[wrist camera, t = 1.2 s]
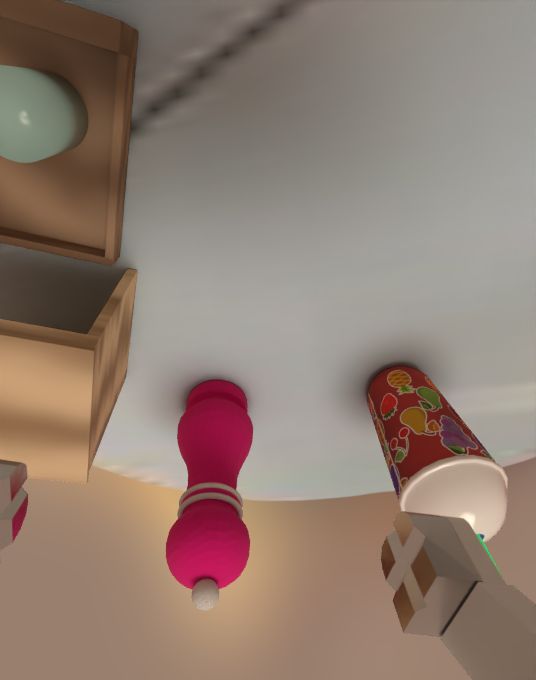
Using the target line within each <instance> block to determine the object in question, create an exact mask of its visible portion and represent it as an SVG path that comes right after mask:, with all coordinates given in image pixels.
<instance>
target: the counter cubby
mask: <svg viewBox="0 0 536 680" xmlns="http://www.w3.org/2000/svg"><path fill="white" fill-rule="evenodd" d="M136 279H137V270H132V269H127V271H126V272H125V274H124V275H123V277H122V279H121V280H120V282H119V283H118V285H117V287H116V288H115V290H114V291H113V293H112V295H111V296H110V298H109V300H108V301H107V303H106V304H105V306H104V308H103V309H102V311H101V312H100V314H99V316H98V317H97V319H96V320H95V322H94V324H93V325H92V327H91V328H90V330H89V332H88V333H87V334H82V333H76V332H71V331H65V330H60V329H54V328H48V327H43V326H37V325H32V324H26V323H21V322H15V321H10V320H4V319H0V459H2V460H9V461H15V462H22V463H24V464H26V465H27V477H29V478H38V479H47V480H55V481H64V482H73V483H82V484H87V482H88V474H89V470H90V467H91V465H92V463H93V460H94V457H95V455H96V452H97V450H98V447H99V445H100V442H101V440H102V437H103V434H104V432H105V429H106V427H107V424H108V422H109V419H110V416H111V414H112V411H113V409H114V406H115V404H116V401H117V399H118V396H119V393H120V391H121V388H122V386H123V383H124V381H125V378H126V372H127V363H128V354H129V344H130V335H131V326H132V316H133V307H134V298H135V288H136Z"/></svg>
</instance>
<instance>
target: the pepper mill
mask: <svg viewBox="0 0 536 680" xmlns="http://www.w3.org/2000/svg"><path fill="white" fill-rule="evenodd" d="M252 438H253V425H252V422H251V419H250V417H249V416H248V414H247V399H246V396H245V394H244V393H243V391H242V390H241V389H240V388H239V387H237V386H236V385H234V384H232V383H230V382H226V381H221V380H212V381H208V382H204V383H202V384H200V385H198V386H197V387H195V388H194V389H193V390H192V392H191V393H190V395H189V397H188V401H187V407H186V412H185V413H184V414H183V416H182V417H181V419H180V422H179V424H178V434H177V439H178V445H179V449H180V453H181V455H182V457H183V459H184V461H185V463H186V466H187V470H188V487H187V491H186V492H184V494H183V495H182V496H181V498H180V501H179V510H178V520H177V521H176V522H175V523H174V525H173V526H172V528H171V530H170V532H169V535H168V539H167V543H166V559H167V564H168V566H169V569H170V571H171V573H172V575H173V576H174V577H175V578H176V580H177V581H178V582H179V583H181V584H182V585H184V586H185V587H187V588H190V589H193V591H192V601H193V603H194V605H195V606H196V607H197V608H198V609H200V610H209V609H211V608H212V607H214V605H215V604H216V602H217V601H218V598H219V589H220V588H223V587H226V586H227V585H229V584H230V583H232V582H233V581H235V580H236V579H237V578H238V577H239V576H240V574H241V573H242V571H243V570H244V568H245V566H246V563H247V560H248V557H249V548H250V539H249V534H248V530H247V528H246V525H245V524H244V522H243V521H242V516H243V511H242V506H243V502H242V498H241V496H240V494H239V493H238V492H237V491H236V487H237V477H238V474H239V471H240V469H241V467H242V465H243V463H244V461H245V459H246V457H247V456H248V453H249V450H250V447H251V444H252Z"/></svg>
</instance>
